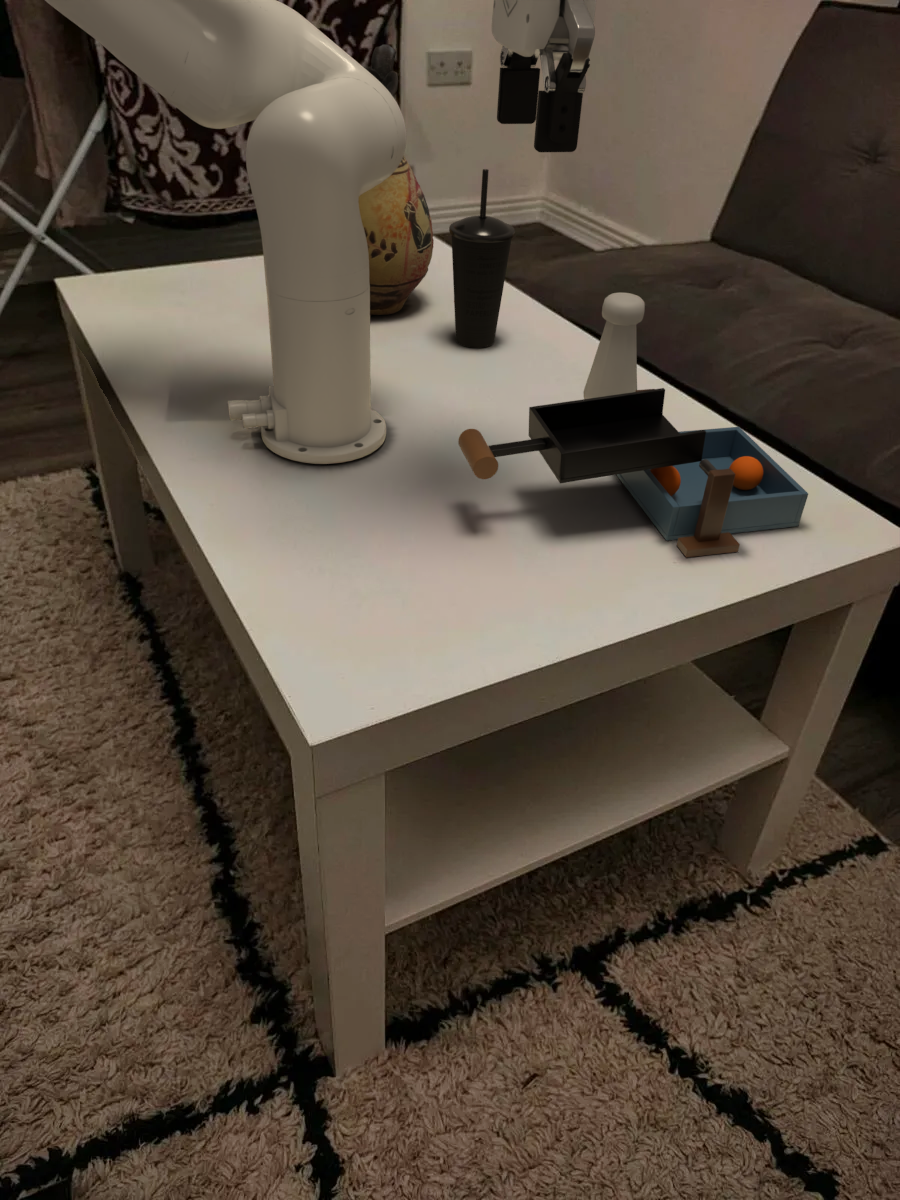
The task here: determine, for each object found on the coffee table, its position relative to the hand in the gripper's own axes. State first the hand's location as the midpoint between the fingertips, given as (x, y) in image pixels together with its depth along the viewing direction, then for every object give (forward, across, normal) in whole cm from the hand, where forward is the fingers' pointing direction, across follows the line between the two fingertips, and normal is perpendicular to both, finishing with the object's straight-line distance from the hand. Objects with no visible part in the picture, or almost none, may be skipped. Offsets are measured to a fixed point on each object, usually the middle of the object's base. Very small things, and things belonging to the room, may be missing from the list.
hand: (534, 136), depth 75 cm
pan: (+25, +7, +4) cm, 26 cm away
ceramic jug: (+31, -48, -4) cm, 57 cm away
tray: (+30, +7, +18) cm, 36 cm away
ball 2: (+28, +7, +22) cm, 36 cm away
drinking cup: (+31, -33, +6) cm, 45 cm away
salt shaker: (+31, -11, +15) cm, 36 cm away
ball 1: (+28, +7, +13) cm, 32 cm away
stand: (+30, +7, +14) cm, 34 cm away
